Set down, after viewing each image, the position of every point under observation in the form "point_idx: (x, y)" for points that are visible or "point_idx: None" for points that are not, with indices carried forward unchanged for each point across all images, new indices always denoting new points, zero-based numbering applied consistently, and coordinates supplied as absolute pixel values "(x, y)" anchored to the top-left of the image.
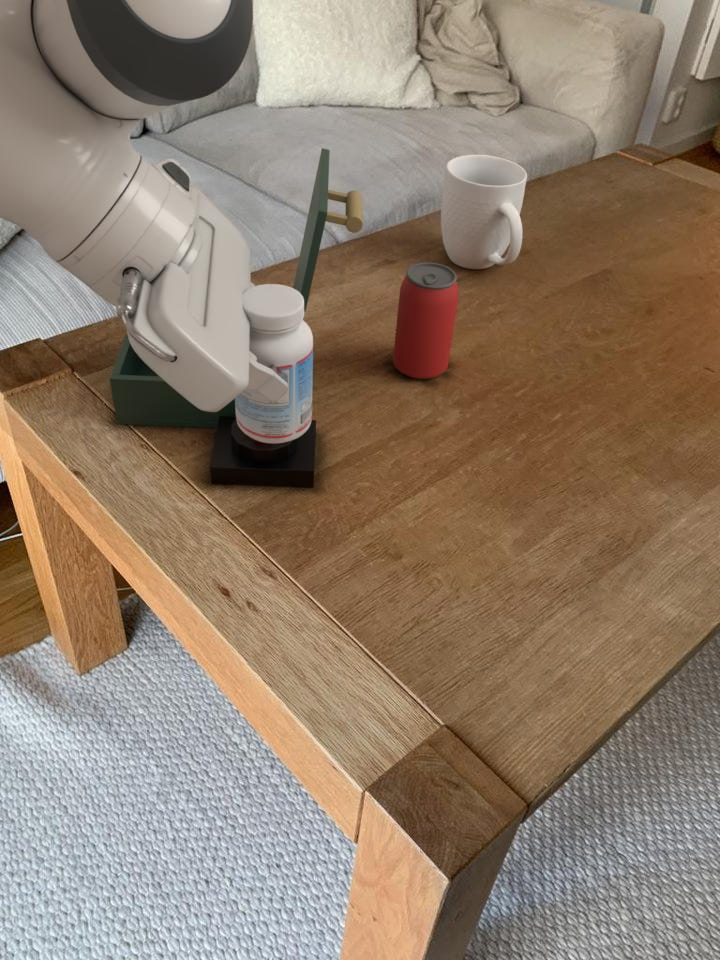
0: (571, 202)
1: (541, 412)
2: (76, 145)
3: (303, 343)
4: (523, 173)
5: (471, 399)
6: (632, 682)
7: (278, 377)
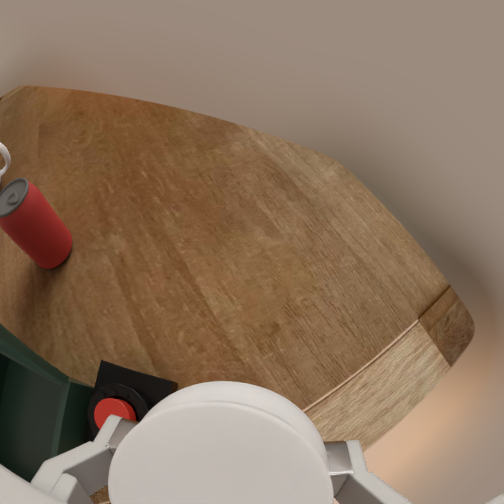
0: None
1: (136, 181)
2: None
3: (293, 410)
4: None
5: (104, 222)
6: (381, 209)
7: (360, 461)
